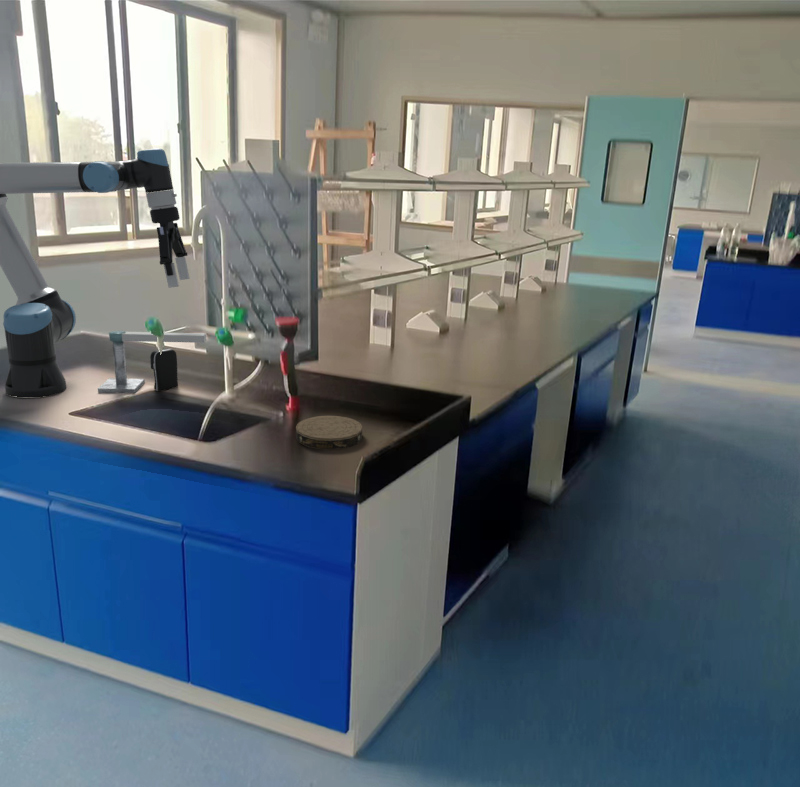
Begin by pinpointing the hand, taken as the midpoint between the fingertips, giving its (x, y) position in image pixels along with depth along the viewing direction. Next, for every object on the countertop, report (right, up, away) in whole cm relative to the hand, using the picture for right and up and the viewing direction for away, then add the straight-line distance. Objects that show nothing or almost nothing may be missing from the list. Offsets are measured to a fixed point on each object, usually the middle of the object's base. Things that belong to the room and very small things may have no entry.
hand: (179, 283), depth 210 cm
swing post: (-16, -30, -2) cm, 34 cm away
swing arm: (-5, -17, -5) cm, 18 cm away
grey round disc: (+46, -43, -33) cm, 71 cm away
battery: (-4, -30, -1) cm, 31 cm away
